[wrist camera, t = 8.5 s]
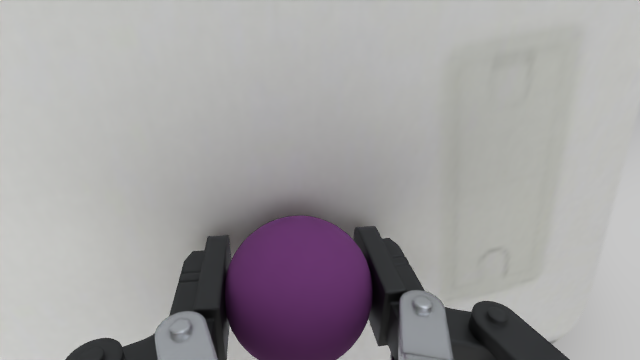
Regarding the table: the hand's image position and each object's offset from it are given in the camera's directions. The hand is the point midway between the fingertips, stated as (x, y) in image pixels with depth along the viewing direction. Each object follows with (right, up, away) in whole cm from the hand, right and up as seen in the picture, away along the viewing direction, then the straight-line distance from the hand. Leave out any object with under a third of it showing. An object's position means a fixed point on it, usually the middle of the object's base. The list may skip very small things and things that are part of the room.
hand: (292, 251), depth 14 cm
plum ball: (0, -1, -2) cm, 2 cm away
